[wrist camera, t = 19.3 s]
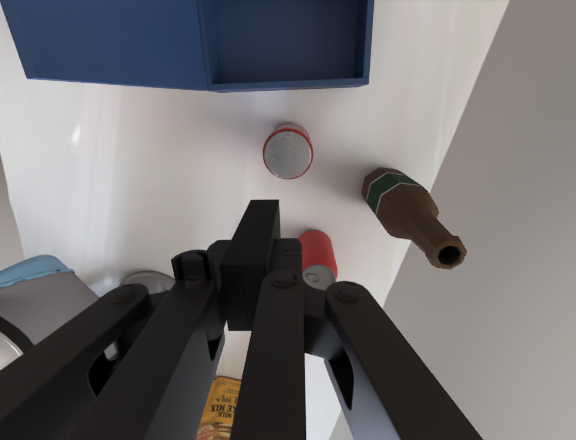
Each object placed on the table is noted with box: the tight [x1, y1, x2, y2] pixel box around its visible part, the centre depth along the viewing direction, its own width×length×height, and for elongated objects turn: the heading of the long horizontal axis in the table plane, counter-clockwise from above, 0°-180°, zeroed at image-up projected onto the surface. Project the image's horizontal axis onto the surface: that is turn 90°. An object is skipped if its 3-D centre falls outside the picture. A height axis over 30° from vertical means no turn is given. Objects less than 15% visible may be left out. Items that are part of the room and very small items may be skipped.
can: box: [263, 123, 313, 179], centre depth 42 cm, size 7×7×12 cm
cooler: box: [196, 0, 374, 93], centre depth 38 cm, size 22×14×7 cm, turn 92°
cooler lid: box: [0, 0, 207, 91], centre depth 25 cm, size 22×14×1 cm
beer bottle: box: [361, 167, 467, 269], centre depth 38 cm, size 8×8×24 cm
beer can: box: [298, 230, 337, 291], centre depth 49 cm, size 7×7×12 cm
